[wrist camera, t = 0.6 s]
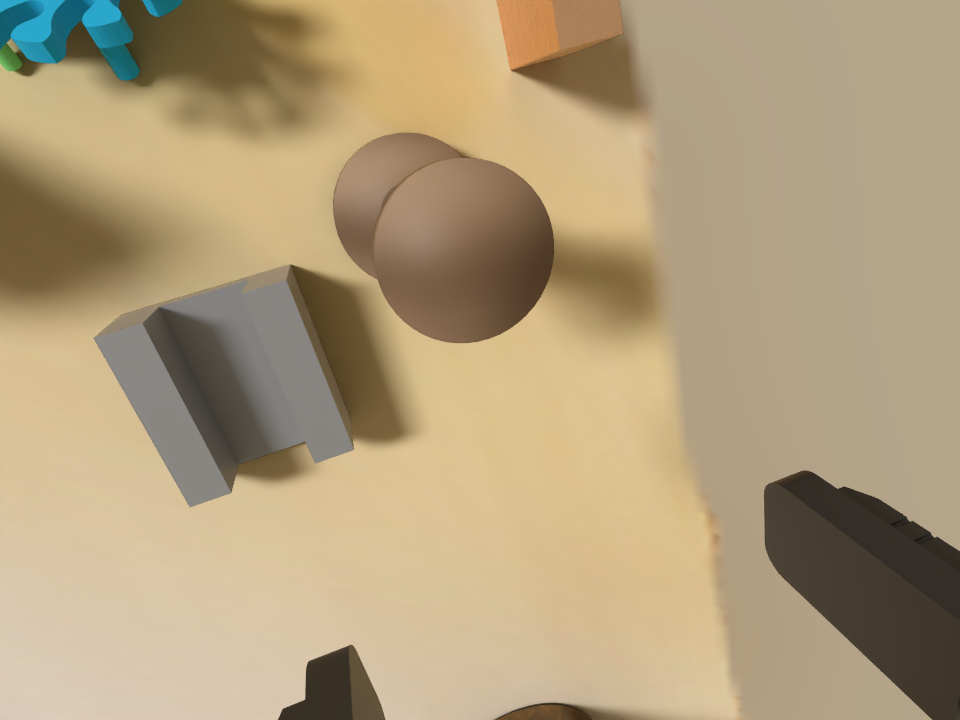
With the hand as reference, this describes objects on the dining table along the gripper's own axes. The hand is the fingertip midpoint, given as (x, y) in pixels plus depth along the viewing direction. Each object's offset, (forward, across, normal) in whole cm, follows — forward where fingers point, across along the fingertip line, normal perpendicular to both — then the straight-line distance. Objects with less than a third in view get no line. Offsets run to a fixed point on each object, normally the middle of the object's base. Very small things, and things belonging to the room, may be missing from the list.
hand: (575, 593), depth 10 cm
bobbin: (+25, -2, -4) cm, 25 cm away
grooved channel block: (+25, +10, +3) cm, 27 cm away
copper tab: (+25, -10, -12) cm, 30 cm away
